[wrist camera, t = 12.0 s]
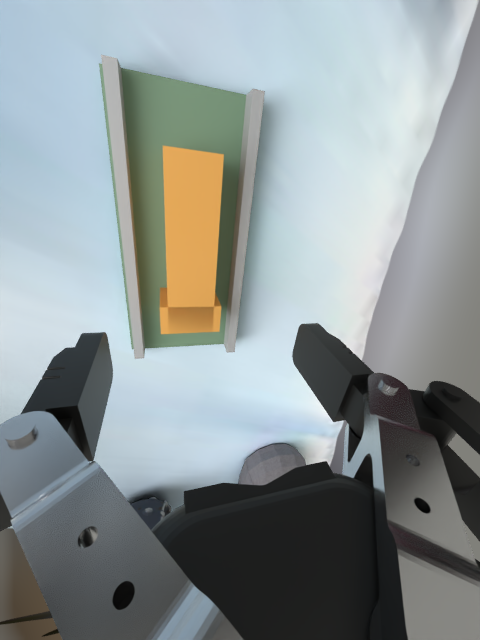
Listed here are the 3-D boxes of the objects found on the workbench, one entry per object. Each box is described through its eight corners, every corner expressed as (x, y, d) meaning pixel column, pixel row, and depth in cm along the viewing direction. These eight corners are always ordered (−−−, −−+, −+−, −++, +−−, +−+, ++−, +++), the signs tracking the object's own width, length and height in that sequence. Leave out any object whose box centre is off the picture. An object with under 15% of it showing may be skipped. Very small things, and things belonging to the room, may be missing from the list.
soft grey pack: (291, 486, 62) (306, 432, 52) (308, 526, 55) (328, 472, 45) (230, 502, 58) (234, 446, 48) (239, 547, 51) (246, 493, 41)
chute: (153, 148, 23) (151, 143, 18) (221, 158, 24) (233, 155, 20) (161, 311, 30) (160, 334, 26) (211, 310, 32) (219, 331, 28)
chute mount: (101, 67, 20) (93, 52, 18) (258, 101, 24) (270, 92, 21) (132, 344, 32) (130, 359, 30) (232, 339, 36) (238, 351, 33)
